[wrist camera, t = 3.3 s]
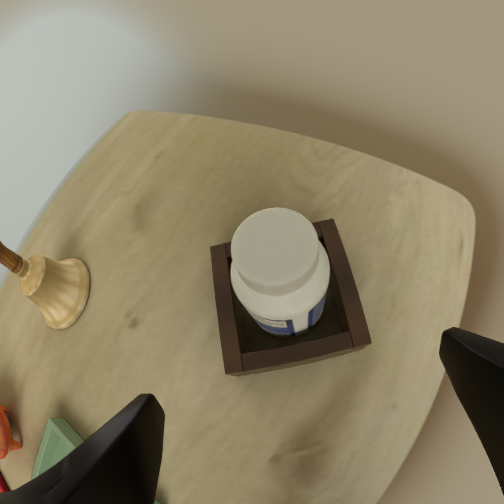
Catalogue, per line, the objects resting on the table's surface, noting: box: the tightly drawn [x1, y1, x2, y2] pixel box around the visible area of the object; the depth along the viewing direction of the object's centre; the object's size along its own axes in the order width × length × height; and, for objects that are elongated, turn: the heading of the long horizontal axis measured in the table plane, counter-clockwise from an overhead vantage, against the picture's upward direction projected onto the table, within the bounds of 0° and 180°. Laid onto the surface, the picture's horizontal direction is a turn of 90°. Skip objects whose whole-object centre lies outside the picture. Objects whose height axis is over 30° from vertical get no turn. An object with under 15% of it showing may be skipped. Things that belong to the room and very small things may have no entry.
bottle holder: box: [210, 219, 371, 376], centre depth 20 cm, size 9×9×3 cm
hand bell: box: [0, 242, 90, 330], centre depth 18 cm, size 8×8×16 cm
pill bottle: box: [231, 208, 330, 338], centre depth 17 cm, size 5×5×10 cm
